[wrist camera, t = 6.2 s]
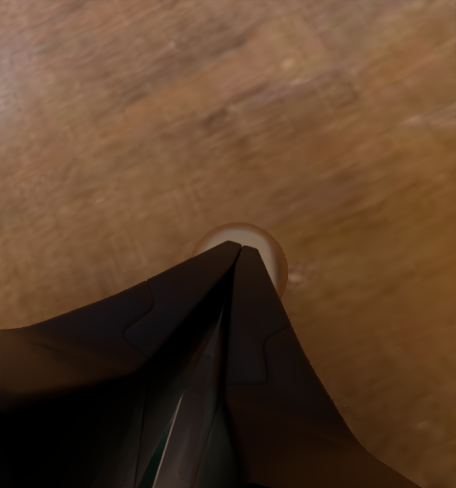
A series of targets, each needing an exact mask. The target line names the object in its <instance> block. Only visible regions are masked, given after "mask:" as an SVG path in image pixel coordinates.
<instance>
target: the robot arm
mask: <svg viewBox="0 0 456 488" xmlns="http://www.w3.org/2000/svg"><path fill="white" fill-rule="evenodd" d="M221 314H222V315H221ZM220 317H221V319H220ZM219 319H220V323H219V328H218V333H217V338H216V344H215V349H214V355H213V360H212V366H211V371H210V376H209V382H208V387H207V393H206V398H205V404H204V409H203V415H202V420H201V426H200V431H199V437H198V442H197V447H196V453H195V458H194V464H193V469H192V475H191V480H190V486H189V488H421V487H420V486H418V485H416V484H415V483H413V482H412V481H410V480H409V479H407V478H406V477H404V476H403V475H401V474H399V473H398V472H396V471H395V470H393V469H392V468H390V467H389V466H387V465H386V464H384V463H382V462H381V461H379V460H378V459H377V458H375V457H374V456H373V455H371V454H370V453H369V452H368V451H367V450H366V449H365V448H364V447H363V446H362V445H361V444H360V443H359V441H358V440H357V439H356V438H355V436H354V435H353V434H352V432H351V431H350V429H349V428H348V426H347V425H346V423H345V421H344V420H343V418H342V416H341V415H340V413H339V411H338V410H337V408H336V406H335V405H334V403H333V401H332V400H331V398H330V396H329V395H328V393H327V391H326V390H325V388H324V386H323V385H322V383H321V381H320V380H319V378H318V376H317V375H316V373H315V371H314V369H313V368H312V366H311V364H310V362H309V361H308V359H307V357H306V355H305V353H304V351H303V349H302V347H301V345H300V343H299V341H298V339H297V337H296V334H295V332H294V330H293V328H292V327H291V323H290V321H289V319H288V316H287V314H286V312H285V310H284V307H283V305H282V303H281V300H280V298H279V296H278V294H277V291H276V289H275V287H274V285H273V282H272V280H271V278H270V275H269V273H268V271H267V269H266V266H265V264H264V262H263V260H262V257H261V255H260V253H259V250H258V249H257V248H254V247H251V246H247V245H243V246H242V245H241V244H240V243H237V242H234V241H230V240H227V241H225V242H223V243H221V244H219V245H217V246H215V247H213V248H211V249H209V250H207V251H205V252H203V253H200V254H198V255H196V256H194V257H192V258H190V259H188V260H186V261H184V262H182V263H180V264H178V265H176V266H174V267H172V268H170V269H168V270H166V271H164V272H162V273H160V274H158V275H156V276H154V277H152V278H150V279H148V280H147V281H143V282H141V283H139V284H137V285H135V286H133V287H131V288H129V289H126V290H124V291H122V292H120V293H118V294H115V295H113V296H110V297H108V298H105V299H103V300H100V301H97V302H95V303H92V304H89V305H87V306H84V307H81V308H79V309H76V310H73V311H70V312H68V313H65V314H62V315H59V316H57V317H54V318H51V319H49V320H46V321H43V322H40V323H37V324H34V325H31V326H27V327H22V328H16V329H0V488H137V486H138V484H139V482H140V480H141V478H142V476H143V474H144V472H145V470H146V468H147V466H148V464H149V462H150V460H151V458H152V456H153V454H154V452H155V450H156V448H157V446H158V443H159V441H160V439H161V437H162V435H163V433H164V431H165V429H166V427H167V425H168V423H169V421H170V419H171V417H172V415H173V413H174V411H175V409H176V407H177V405H178V403H179V401H180V399H181V397H182V395H183V393H184V391H185V389H186V387H187V385H188V383H189V381H190V379H191V377H192V375H193V373H194V371H195V369H196V367H197V365H198V363H199V361H200V359H201V357H202V355H203V353H204V351H205V349H206V347H207V345H208V343H209V341H210V338H211V336H212V334H213V332H214V330H215V328H216V326H217V324H218V322H219Z"/></svg>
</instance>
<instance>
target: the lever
mask: <svg viewBox="0 0 456 488" xmlns="http://www.w3.org/2000/svg"><path fill="white" fill-rule="evenodd" d="M227 240H230V241H234V242H237V243H240V244H241V245H242V246H243V245H247V246H251V247H254V248H257V249H258V250H259V253H260V255H261V257H262V260H263V262H264V264H265V266H266V269H267V271H268V273H269V275H270V278H271V280H272V282H273V285H274V287H275V289H276V291H277V294H278V296H279V298H280V299H281V297H282V295H283V294H284V291H285V288H286V285H287V280H288V265H287V260H286V257H285V254H284V252H283V250H282V248H281V246H280V245H279V243H278V242H277V241H276V240H275V239H274V237H272V236H271V235H270V234H269V233H268V232H266V231H265V230H263V229H261V228H259V227H257V226H254V225H252V224H247V223H229V224H225V225H221V226H219V227H217V228H215V229H213V230H211V231H210V232H208V233H207V234H206V235H205V236H204V237H203V238H202V239H201V240H200V241H199V242H198V244H197V245H196V247H195V249H194V250H193V253H192V255H191V258H192V257H194V256H196V255H198V254H200V253H203V252H205V251H207V250H209V249H211V248H213V247H215V246H217V245H219V244H221V243H223V242H225V241H227ZM221 315H222V314H221ZM220 319H221V317H220ZM220 319H219V322H218V324H217V326H216V328H215V330H214V332H213V334H212V336H211V338H210V341H209V343H208V345H207V347H206V349H205V351H204V353H203V355H202V357H201V359H200V361H199V363H198V365H197V367H196V369H195V371H194V373H193V375H192V377H191V379H190V381H189V383H188V385H187V387H186V389H185V391H184V393H183V395H182V397H181V399H180V401H179V403H178V406H177V409H176V412H175V415H174V418H173V422H172V425H171V428H170V431H169V435H168V438H167V441H166V444H165V447H164V451H163V454H162V457H161V460H160V463H159V467H158V470H157V473H156V476H155V480H154V483H153V486H152V488H189V486H190V480H191V475H192V469H193V464H194V458H195V453H196V447H197V442H198V437H199V431H200V426H201V420H202V415H203V409H204V404H205V398H206V393H207V387H208V382H209V376H210V371H211V366H212V360H213V355H214V349H215V344H216V338H217V333H218V328H219V323H220Z"/></svg>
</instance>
